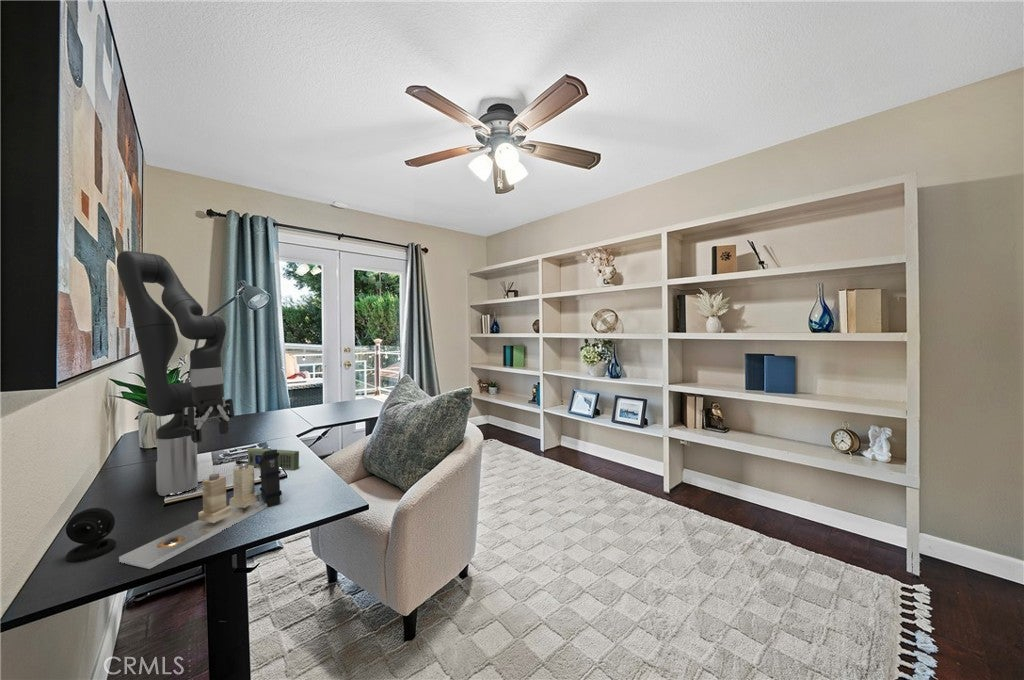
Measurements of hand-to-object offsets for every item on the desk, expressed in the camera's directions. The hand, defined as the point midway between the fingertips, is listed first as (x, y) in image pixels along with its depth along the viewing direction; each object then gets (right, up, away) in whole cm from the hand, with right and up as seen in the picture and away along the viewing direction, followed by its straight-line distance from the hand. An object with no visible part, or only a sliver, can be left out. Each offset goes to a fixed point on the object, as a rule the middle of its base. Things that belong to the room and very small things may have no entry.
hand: (211, 437), depth 111 cm
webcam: (-6, -19, -26) cm, 33 cm away
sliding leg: (+13, -17, -15) cm, 26 cm away
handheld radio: (0, -18, +26) cm, 31 cm away
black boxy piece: (+17, -18, +1) cm, 25 cm away
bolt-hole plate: (+12, -19, -18) cm, 28 cm away
